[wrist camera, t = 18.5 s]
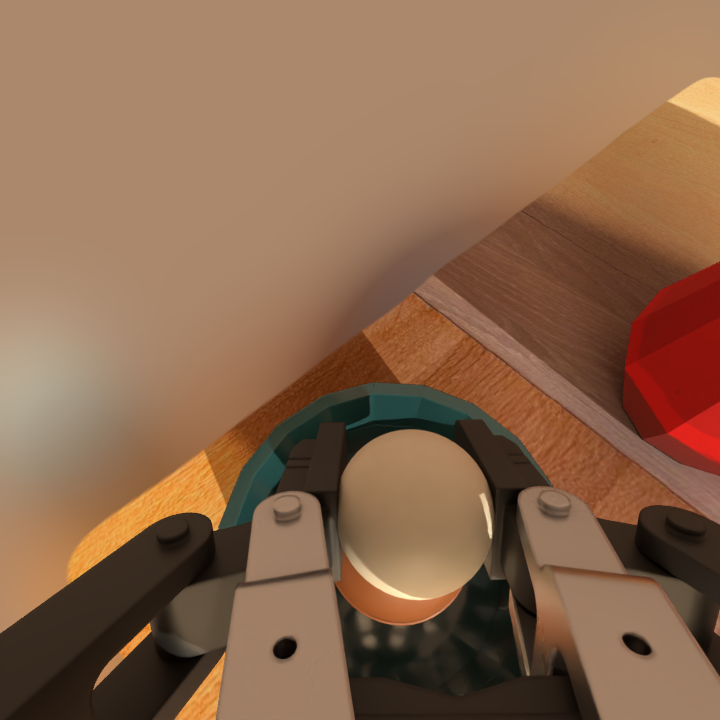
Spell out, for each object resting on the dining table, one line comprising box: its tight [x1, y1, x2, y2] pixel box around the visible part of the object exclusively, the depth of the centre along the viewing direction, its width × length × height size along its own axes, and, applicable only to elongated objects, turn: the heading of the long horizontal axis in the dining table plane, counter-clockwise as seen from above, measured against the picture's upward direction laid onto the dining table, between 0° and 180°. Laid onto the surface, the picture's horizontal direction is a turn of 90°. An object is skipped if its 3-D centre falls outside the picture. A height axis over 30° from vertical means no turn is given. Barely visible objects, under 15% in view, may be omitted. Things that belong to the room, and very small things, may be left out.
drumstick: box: [334, 429, 495, 626], centre depth 12 cm, size 5×5×11 cm
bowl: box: [218, 382, 553, 696], centre depth 20 cm, size 14×15×9 cm
